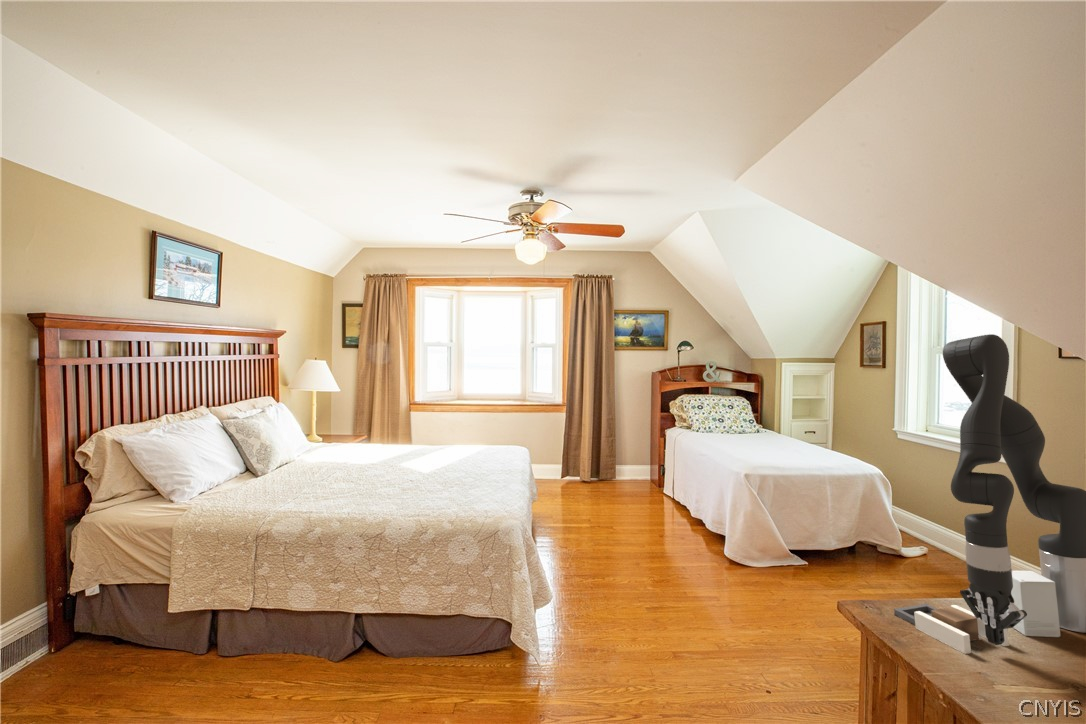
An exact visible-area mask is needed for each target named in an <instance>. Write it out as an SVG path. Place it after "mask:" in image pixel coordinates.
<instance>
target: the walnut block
mask: <svg viewBox="0 0 1086 724" xmlns="http://www.w3.org/2000/svg"><path fill="white" fill-rule="evenodd" d="M931 613H932V617H933V618H936V619H938V620H940V621H942V622H944V623H946V624H948V625H950V626H952V627H954V628H957V629H959V630H961V631H963V632H965V633H967V634H969V636H970V642H972V641H977V640H979V638H980V635H979V634H978V623H977V618H976V617H974V616H971V615H969V614H967V613H964V612H962V611H960V610H958V609H955V608H953V607H950V606H948V607H943V608H937V610H931Z"/></svg>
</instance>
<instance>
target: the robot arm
mask: <svg viewBox="0 0 1086 724" xmlns="http://www.w3.org/2000/svg"><path fill="white" fill-rule="evenodd" d="M942 357H943V361H944V363H945V366H946V368H947V370H948V371H949V373H950V374H951V376H952V377H953V379H954V380H955V381H956V383H957V385H959V387H960V388H961V390H962V391H963V392H964V394H965V395H966V396H967V398H968V400H969V401H970V403H971V404H970V405H969V407H968V409H967V410H966V412H965V413H964V415H963V418H962V419H961V423H960V428H959V431H960V432H959V437H960V438H959V439H960V440H959V441H960V444H959V445H960V447H959V448H960V449H959V450H960V452H959V458H958V461H957V464H956V468H955V470H954V473H953V476H952V478H951V483H950V491H951V494H952V495H953V497H954V498H955V500H957V501H958V502H961V503H963V504H964V503H965V504H969V505H970V504H972V505H980V506H981V505H983V506H990V507H992V510H991V511H988V512H983V513H982V512H979V513H970V514H967V515H965V516H964V521H963V522H964V534H965V548H964V552H965V563H966V574H967V576H966V577H967V581H968V582H969V584H968V588H966V589H962V590H959V594H960V595H961V597H962V598H963V600H964V602H965V603H966V604H967V606H968V608H969V609H970V611H971V612H973V614H974V616H975V617H976V618H980V619H981V620H982V621H983V623H984V624H985V632H986V637H987V638H988V639H987V638H986V639H987V642H989V643H990V644H992V645H994V646H999V645H1000V644H1002V643H1004V629H1007V628H1008V629H1014V628H1013V627H1014V626H1015V625H1017V624H1018V623H1019V622H1020V621H1021V620H1022V619H1024V618H1025V617H1026V616H1027V613H1026V611H1024V610H1020V609H1019V608H1018V607H1017V606H1016V605H1015V604H1014V598H1013V597H1012V594H1011V591H1012V588H1013V580H1012V571H1013V569H1012V559H1011V553H1010V550H1009V545H1008V535H1007V522H1008V515H1009V511H1010V507H1011V504H1012V501H1013V497H1014V494H1015V487H1014V484H1013V482H1012V480H1010V478H1008V477H1007V476H1006V475H1004V474H1000V473H992V472H991V473H990V472H988V473H987V472H979V471H978V472H975V471H974V469H975V468H976V467H978V466H982V465H987V464H995V463H999V462H1000V461H1001V458H1003V459H1004V461H1005V463H1006V465H1007V467H1008V469H1009V471H1010V473H1011V476H1012V477H1013V480H1014V481H1015V484H1016V487H1017V489H1018V492H1019V494H1020V497H1021V499H1022V502H1024V505H1025V507H1026V509H1027V510H1028V511H1029V513H1030V514H1031V515H1033V516H1035V517H1036V518H1038V519H1041V520H1044V521H1048V522H1052V523H1056V524H1059V532H1058V533H1051V534H1050V533H1049V534H1042V535H1040V536H1039V537H1038V540H1037V542H1038V544H1037V545H1038V553H1039V562H1040V563H1039V565H1040V572H1041V573H1040V575H1041V576H1043V577H1045V578H1047V579H1050V580H1052V581H1054V582H1055V587H1056V597H1057V607H1058V616H1059V626H1060V628H1062V629H1065V630H1069V631H1072V632H1078V633H1085V634H1086V490H1085V489H1082V488H1080V487H1076V486H1068V485H1063V484H1057V483H1052V482H1051V481H1049V480H1048V479H1047V477H1046V476H1045V474H1044V473H1043V471H1042V469H1041V466H1040V461H1041V458H1042V455H1043V452H1044V449H1045V445H1046V438H1045V434H1044V432H1043V430H1042V429H1041V426H1040V425H1039V423H1038V422H1037V420H1036V417H1035V416H1034V414H1033V413H1032V412H1031V411H1030V410H1029V409H1027V408H1026V407H1025V406H1024V405H1022V404H1020V403H1019V402H1017V401H1015V400H1014V399H1012V398H1011V397H1009V396H1007V395H1005V393H1006V386H1007V382H1008V381H1007V380H1008V375H1009V369H1010V368H1009V367H1010V352H1009V348H1008V346H1007V344H1006V342H1005V341H1004V339H1003V338H1001V337H1000V336H999V335H998V334H990V333H989V334H984V335H983V334H981V335H977V336H973V337H967V338H963V339H961V338H960V339H957V340H952V341H949V342H948V343H946V344H945V345H944V347H943V349H942ZM1008 609H1009V610H1008ZM1007 610H1008V612H1007ZM1007 614H1009V615H1008V616H1007ZM1006 616H1007V617H1006ZM1000 646H1001V645H1000Z"/></svg>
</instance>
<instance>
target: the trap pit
mask: <svg viewBox="0 0 1086 724" xmlns="http://www.w3.org/2000/svg"><path fill="white" fill-rule="evenodd" d="M937 609H938V608H936V607H934V606H932V605H930V604H928V603H923V604H921V603H920V604H917V605H916V604H915V605H910V606H905V607H897V608H893V613H894V616H896V617H898V618H899V619H902V620H904V621H905V622H908V623H909V624H912V625H913V626H915V615H914V612H916V611H921V612H923V613H925V614H927V615H929V616H931V617H932V613H931V610H937Z"/></svg>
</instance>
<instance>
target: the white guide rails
mask: <svg viewBox="0 0 1086 724" xmlns="http://www.w3.org/2000/svg"><path fill="white" fill-rule="evenodd" d="M949 607H953V608H955V609H958V610H960V611H962V612H964V613H967V614H969V615H971V616H974V614H973V612H972V611H971V610H968V609H966V608H964V607H961V606H960V605H956V604H952V605H949ZM914 615H915V625H914V626H915V629H916V630H917V631H920V632H922V633H924V634H926V635H927V636H929V637H930V638H933V639H935V640H937V641H939V642H941V643H943V644H944V645H947V646H949V647H950V648H952V649H955V650H957V651H958V652H960V653H962V654H964V655H967V654H971V653H972V649H971V641H970V636H969V634H967V633H965V632H963V631H961V630H959V629H957V628H954V627H952V626H950V625H948V624H946V623H944V622H942V621H940V620H938V619H936V618H933V617H931V616H929V615H927V614H925V613H923V612H921V611H916V612H914ZM974 617H975V616H974ZM977 623H978V634H979V637H983V638H985V639H987V640H988V638H987V637H986V632H985V624H984V623H983V621H982V620H981V619H980V618H977ZM1009 637H1010V636H1009V628H1007V629H1004V643H1002V644H1000V646H1002V647H1009V646H1010V639H1009Z"/></svg>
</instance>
